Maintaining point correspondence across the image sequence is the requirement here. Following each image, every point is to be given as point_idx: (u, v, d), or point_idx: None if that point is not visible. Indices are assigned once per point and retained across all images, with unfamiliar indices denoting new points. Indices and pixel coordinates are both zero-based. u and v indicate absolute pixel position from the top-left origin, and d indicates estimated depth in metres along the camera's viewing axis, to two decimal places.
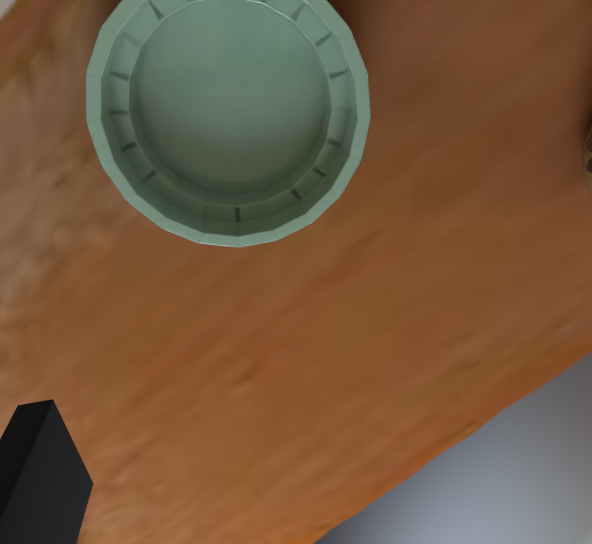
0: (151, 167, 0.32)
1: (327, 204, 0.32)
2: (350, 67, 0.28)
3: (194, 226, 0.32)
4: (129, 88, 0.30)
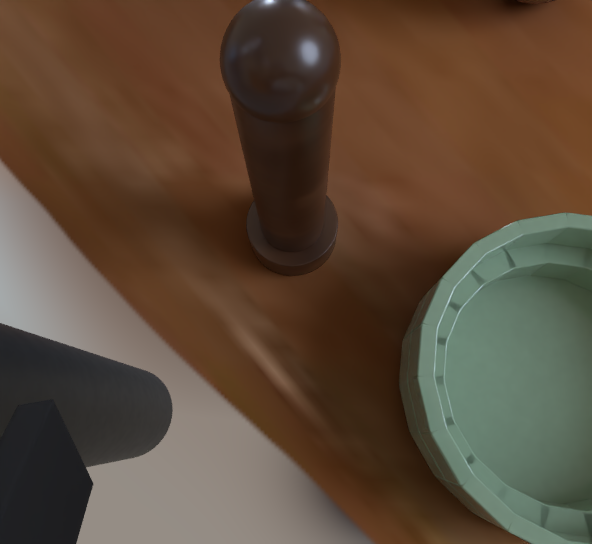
0: None
1: None
2: (513, 239, 0.25)
3: None
4: (557, 506, 0.24)
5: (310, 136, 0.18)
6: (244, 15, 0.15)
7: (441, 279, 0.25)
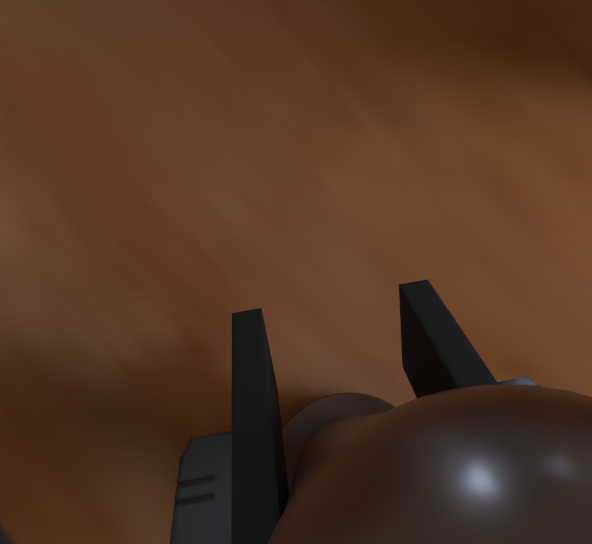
0: None
1: None
2: None
3: None
4: None
5: None
6: None
7: None
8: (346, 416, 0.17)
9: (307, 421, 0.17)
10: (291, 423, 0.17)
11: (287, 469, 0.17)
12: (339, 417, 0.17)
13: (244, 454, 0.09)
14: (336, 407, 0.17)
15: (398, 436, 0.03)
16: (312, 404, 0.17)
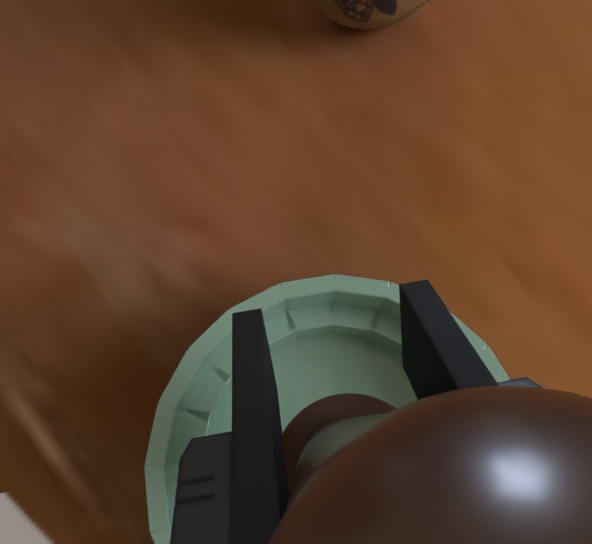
0: None
1: None
2: (273, 304, 0.23)
3: None
4: None
5: None
6: None
7: (187, 351, 0.22)
8: (346, 416, 0.17)
9: (307, 421, 0.17)
10: (291, 423, 0.17)
11: (287, 470, 0.16)
12: (339, 417, 0.17)
13: (244, 454, 0.09)
14: (336, 407, 0.17)
15: (399, 438, 0.03)
16: (312, 404, 0.17)
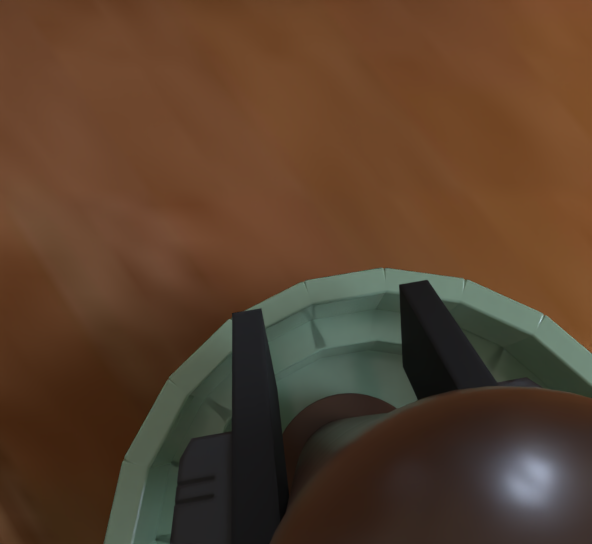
0: None
1: (568, 341, 0.15)
2: (295, 312, 0.15)
3: None
4: None
5: None
6: None
7: (168, 381, 0.15)
8: (346, 416, 0.17)
9: (307, 421, 0.17)
10: (291, 423, 0.17)
11: (287, 469, 0.16)
12: (339, 417, 0.17)
13: (244, 454, 0.09)
14: (336, 407, 0.17)
15: (400, 438, 0.03)
16: (312, 404, 0.17)
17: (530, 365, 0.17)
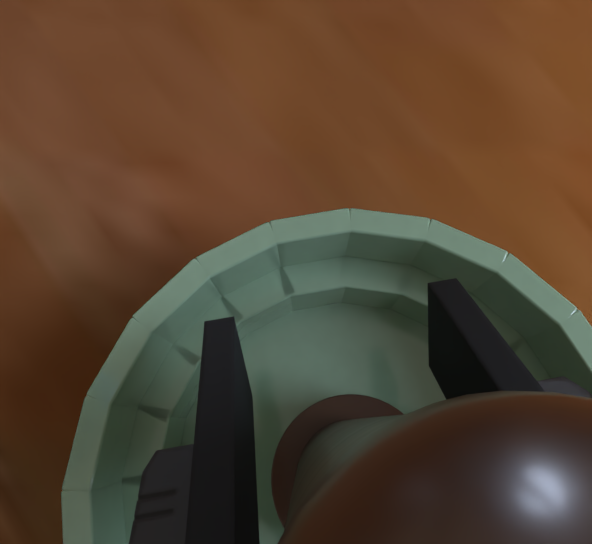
0: None
1: (532, 278, 0.15)
2: (260, 252, 0.15)
3: None
4: None
5: None
6: None
7: (131, 319, 0.15)
8: (347, 418, 0.17)
9: (308, 423, 0.17)
10: (292, 425, 0.17)
11: (288, 471, 0.16)
12: (340, 419, 0.17)
13: (204, 469, 0.09)
14: (337, 409, 0.17)
15: (410, 447, 0.03)
16: (313, 406, 0.17)
17: (497, 308, 0.17)
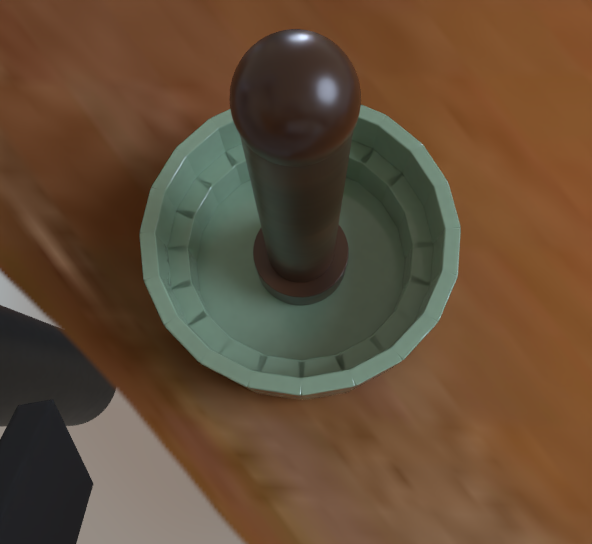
0: (367, 342, 0.26)
1: (398, 128, 0.27)
2: None
3: (435, 282, 0.25)
4: (275, 357, 0.26)
5: (326, 177, 0.16)
6: (257, 54, 0.14)
7: (175, 150, 0.27)
8: None
9: None
10: None
11: (263, 246, 0.28)
12: None
13: None
14: None
15: None
16: None
17: (386, 154, 0.29)
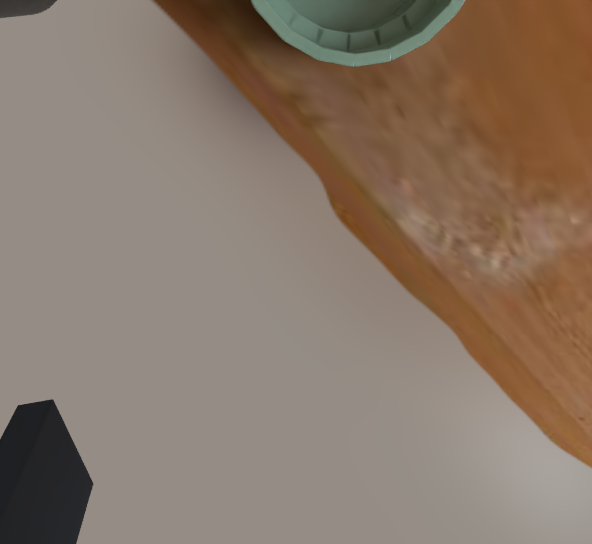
0: (398, 19, 0.35)
1: None
2: None
3: None
4: (329, 29, 0.35)
5: None
6: None
7: None
8: None
9: None
10: None
11: None
12: None
13: None
14: None
15: None
16: None
17: None
